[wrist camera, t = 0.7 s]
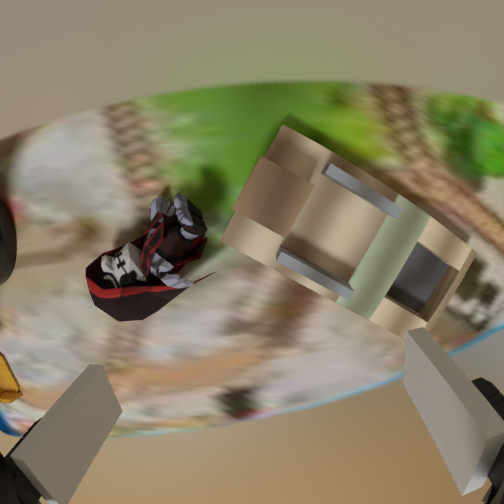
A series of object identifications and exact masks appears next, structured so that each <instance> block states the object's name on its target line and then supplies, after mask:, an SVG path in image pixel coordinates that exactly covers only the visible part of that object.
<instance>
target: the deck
mask: <svg viewBox="0 0 504 504" xmlns="http://www.w3.org/2000/svg"><path fill="white" fill-rule="evenodd" d="M264 158H266V159H268V160H270V161H272V162H274V163H276V164H278V165H279V166H281V167H283V168H285V169H287V170H289V171H290V172H292V173H294V174H296V175H298V176H300V177H301V178H303V179H305V180H307V181H308V182H310V183H312V184H314V185H315V186H314V188H313V190H312V192H311V194H310V195H309V197H308V199H307V201H306V203H305V204H304V206H303V208H302V210H301V212H300V213H299V215H298V217H297V219H296V221H295V222H294V224H293V226H292V228H291V229H290V231H289V233H288V235H287V237H286V238H284V237H282V236H280V235H278V234H277V233H275V232H273V231H271V230H269V229H267V228H266V227H264V226H262V225H260V224H258V223H256V222H255V221H253V220H251V219H249V218H247V217H245V216H243V215H242V214H240V213H238V212H236V211H235V213H234V215H233V216H232V218H231V220H230V222H229V224H228V226H227V228H226V230H225V232H224V234H223V236H222V237H221V239H220V241H222V242H224V243H226V244H227V245H229V246H231V247H233V248H235V249H237V250H239V251H240V252H242V253H244V254H246V255H248V256H250V257H252V258H254V259H255V260H257V261H259V262H261V263H263V264H265V265H267V266H268V267H270V268H272V269H274V270H276V271H278V272H280V273H281V274H283V275H285V276H287V277H289V278H291V279H293V280H295V281H296V282H298V283H300V284H302V285H304V286H306V287H308V288H310V289H311V290H313V291H315V292H317V293H319V294H321V295H323V296H324V297H326V298H328V299H330V300H332V301H334V302H336V303H338V304H339V305H341V306H343V307H345V308H347V309H349V310H351V311H353V312H355V313H356V314H358V315H360V316H362V317H364V318H366V319H368V320H370V321H371V322H373V323H375V324H377V325H379V326H381V327H383V328H385V329H387V330H388V331H390V332H392V333H394V334H396V335H398V336H400V337H402V338H404V339H405V340H406V331H408V330H412V329H416V328H421V327H423V328H424V329H425V330H426V331H427V332H428V333H429V332H430V330H431V329H432V327H433V326H434V324H435V323H436V321H437V320H438V318H439V316H440V315H441V313H442V312H443V310H444V309H445V307H446V306H447V304H448V302H449V301H450V299H451V297H452V296H453V294H454V292H455V291H456V289H457V287H458V286H459V284H460V282H461V280H462V279H463V277H464V275H465V273H466V272H467V270H468V268H469V266H470V264H471V263H472V261H473V259H474V257H475V255H476V253H477V252H476V251H474V250H473V249H472V248H471V247H469V246H468V245H467V244H466V243H465V242H463V241H462V240H461V239H460V238H458V237H457V236H456V235H454V234H453V233H452V232H451V231H449V230H448V229H447V228H445V227H444V226H443V225H441V224H440V223H439V222H437V221H436V220H435V219H433V218H432V217H431V216H429V215H428V214H427V213H425V212H424V211H423V210H421V209H420V208H418V207H417V206H416V205H414V204H413V203H411V202H410V201H408V200H407V199H406V198H404V197H403V196H401V195H400V194H398V193H397V192H395V191H394V190H392V189H391V188H389V187H388V186H386V185H385V184H383V183H382V182H380V181H379V180H377V179H376V178H374V177H373V176H371V175H370V174H368V173H366V172H365V171H363V170H362V169H360V168H358V167H357V166H355V165H354V164H352V163H350V162H349V161H347V160H345V159H344V158H342V157H340V156H339V155H337V154H335V153H334V152H332V151H330V150H328V149H327V148H325V147H323V146H321V145H320V144H318V143H316V142H314V141H313V140H311V139H309V138H307V137H305V136H304V135H302V134H300V133H298V132H296V131H294V130H292V129H291V128H289V127H287V126H285V125H283V124H282V126H281V128H280V130H279V132H278V133H277V135H276V137H275V139H274V141H273V142H272V144H271V146H270V148H269V150H268V151H267V153H266V155H265V157H264Z"/></svg>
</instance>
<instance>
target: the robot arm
mask: <svg viewBox="0 0 504 504" xmlns="http://www.w3.org/2000/svg"><path fill="white" fill-rule="evenodd" d="M15 256H16V241H15V233H14V228H13V224H12V220H11V217H10V215H9V212H8V210H7V208H6V206H5V205H4V203H3V202H2V200H1V199H0V285H1V284H3V283H4V282H5V281H6V280H7V279H8V278H9V277H10V275H11V273H12V270H13V267H14V263H15ZM403 385H404V387H405V389H406V390H407V392H408V394H409V396H410V398H411V399H412V401H413V403H414V405H415V407H416V408H417V410H418V412H419V414H420V416H421V417H422V419H423V421H424V423H425V424H426V427H427V429H428V430H429V432H430V434H431V436H432V438H433V440H434V442H435V444H436V445H437V447H438V449H439V451H440V453H441V455H442V457H443V459H444V461H445V463H446V465H447V467H448V469H449V471H450V473H451V475H452V477H453V479H454V481H455V483H456V485H457V487H458V489H459V491H460V493H461V496H463V495H465V494H467V493H470V492H472V491H474V490H476V489H478V488H480V487H482V486H483V484H484V482H485V480H486V478H487V476H488V478H489V479H490V481H491V483H492V485H491V486H490V488H489V490H488V491H487V493H486V495H485V497H484V498H483V500H482V501H485V503H484V504H504V396H503V395H502V394H501V393H500V391H499V390H498V389H497V388H496V387H495V386H494V385H493V384H492V383H491V382H489V381H487V380H485V379H483V378H478V379H475V380H473V381H471V380H470V379H469V378H468V377H467V376H466V375H465V373H464V372H463V371H462V370H461V369H460V368H459V367H458V365H457V364H456V363H455V362H454V361H453V360H452V359H451V357H450V356H449V355H448V354H447V353H446V352H445V351H444V350H443V348H442V347H441V346H440V345H439V344H438V343H437V342H436V341H435V340H434V339H433V337H432V336H431V335H430V334H429V333H428V332H427V331H426V330H425V329H424V328H423V327H421V328H416V329H412V330H408V331H406V352H405V367H404V379H403ZM121 413H122V409H121V407H120V405H119V403H118V400H117V398H116V396H115V394H114V391H113V389H112V387H111V384H110V382H109V379H108V377H107V375H106V372H105V370H104V367H103V365H92V364H90V365H89V366H88V367H87V368H86V369H85V370H84V371H83V372H82V373H81V374H80V376H79V377H78V378H77V379H76V380H75V381H74V382H73V383H72V384H71V386H70V387H69V388H68V389H67V390H66V391H65V392H64V393H63V395H62V396H61V397H60V398H59V399H58V400H57V401H56V403H55V404H54V405H53V406H52V407H51V408H50V409H49V411H48V412H47V413H46V414H45V415H44V416H43V417H42V418H41V419H39V420H38V421H36V422H35V423H34V424H33V425H32V426H31V427H30V428H29V429H28V432H26V433H25V434H24V435H23V438H21V439H20V440H19V441H18V442H17V444H16V445H15V446H14V447H13V448H12V449H11V451H10V452H9V453H8V454H7V455H6V457H5V458H4V457H3V455H2V454H1V453H0V504H41V503H40V501H39V499H40V497H41V496H42V497H43V498H44V499H45V500H46V501H47V502H48V504H68V502H69V501H70V499H71V498H72V496H73V494H74V492H75V491H76V489H77V487H78V485H79V484H80V482H81V480H82V478H83V477H84V475H85V473H86V472H87V470H88V468H89V466H90V465H91V463H92V461H93V460H94V458H95V456H96V455H97V453H98V451H99V449H100V447H101V446H102V444H103V443H104V441H105V439H106V438H107V436H108V434H109V433H110V431H111V429H112V428H113V426H114V424H115V423H116V421H117V419H118V418H119V416H120V414H121Z"/></svg>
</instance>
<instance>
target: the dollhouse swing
mask: <svg viewBox="0 0 504 504" xmlns="http://www.w3.org/2000/svg"><path fill="white" fill-rule="evenodd" d="M19 387H20V385H19V384H18V382H17V380H16V378H15V376H14V374H13V372H12V370H11V368H10V366H9V364H8V362H7V360H6V358H5V356H4V355H3V354H1V353H0V402H2V403H12V402H13V401H15V400H16V399H18V398H19V397H21V396H22V395H23V394H22V392H21V391H19Z"/></svg>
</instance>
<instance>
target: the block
mask: <svg viewBox="0 0 504 504" xmlns="http://www.w3.org/2000/svg"><path fill="white" fill-rule="evenodd" d="M314 186H315V185H314V184H312V183H310V182H308V181H307V180H305V179H303V178H301V177H300V176H298V175H296V174H294V173H292V172H290V171H289V170H287V169H285V168H283V167H281V166H279V165H278V164H276V163H274V162H272V161H270V160H268V159H266V158H264V157H263V156H260V158H259V160H258V162H257V163H256V165H255V167H254V169H253V171H252V173H251V175H250V176H249V178H248V180H247V182H246V184H245V186H244V188H243V189H242V191H241V193H240V195H239V197H238V199H237V201H236V203H235V204H234V206H233V208H232V210H234V211H236V212H238V213H240V214H242V215H243V216H245V217H247V218H249V219H251V220H253V221H255V222H256V223H258V224H260V225H262V226H264V227H266V228H267V229H269V230H271V231H273V232H275V233H277V234H278V235H280V236H282V237H284V238H286V237H287V235H288V233H289V231H290V229H291V228H292V226H293V224H294V222H295V221H296V219H297V217H298V215H299V213H300V212H301V210H302V208H303V206H304V204H305V203H306V201H307V199H308V197H309V195H310V194H311V192H312V190H313V188H314Z"/></svg>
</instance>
